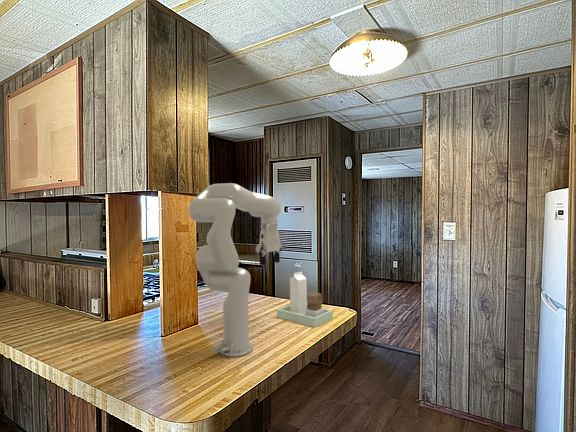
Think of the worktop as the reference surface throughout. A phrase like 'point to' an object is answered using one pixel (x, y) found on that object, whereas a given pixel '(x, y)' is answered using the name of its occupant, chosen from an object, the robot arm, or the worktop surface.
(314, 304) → the walnut block
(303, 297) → the milk
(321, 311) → the white block
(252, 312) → the worktop surface
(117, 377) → the worktop surface
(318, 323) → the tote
